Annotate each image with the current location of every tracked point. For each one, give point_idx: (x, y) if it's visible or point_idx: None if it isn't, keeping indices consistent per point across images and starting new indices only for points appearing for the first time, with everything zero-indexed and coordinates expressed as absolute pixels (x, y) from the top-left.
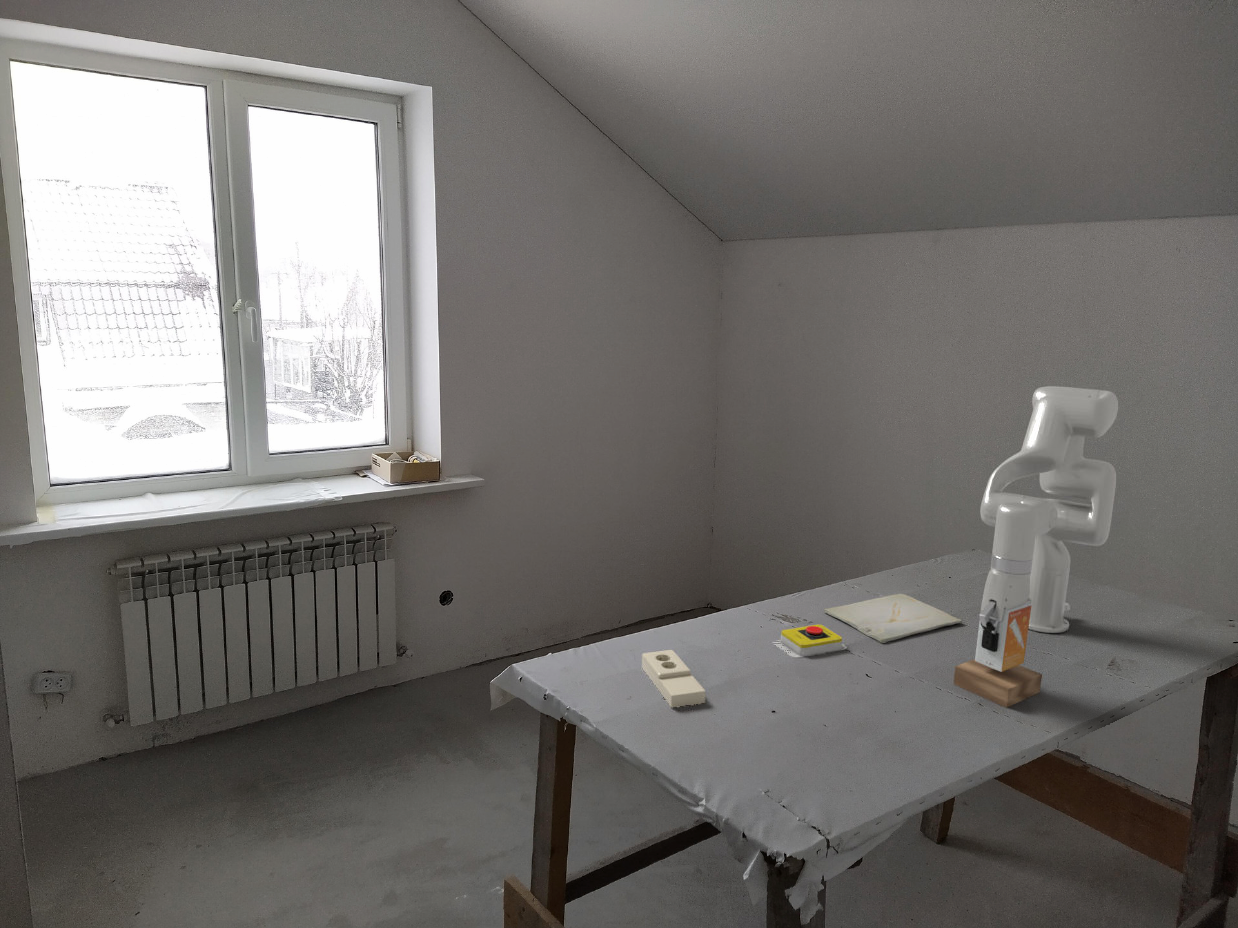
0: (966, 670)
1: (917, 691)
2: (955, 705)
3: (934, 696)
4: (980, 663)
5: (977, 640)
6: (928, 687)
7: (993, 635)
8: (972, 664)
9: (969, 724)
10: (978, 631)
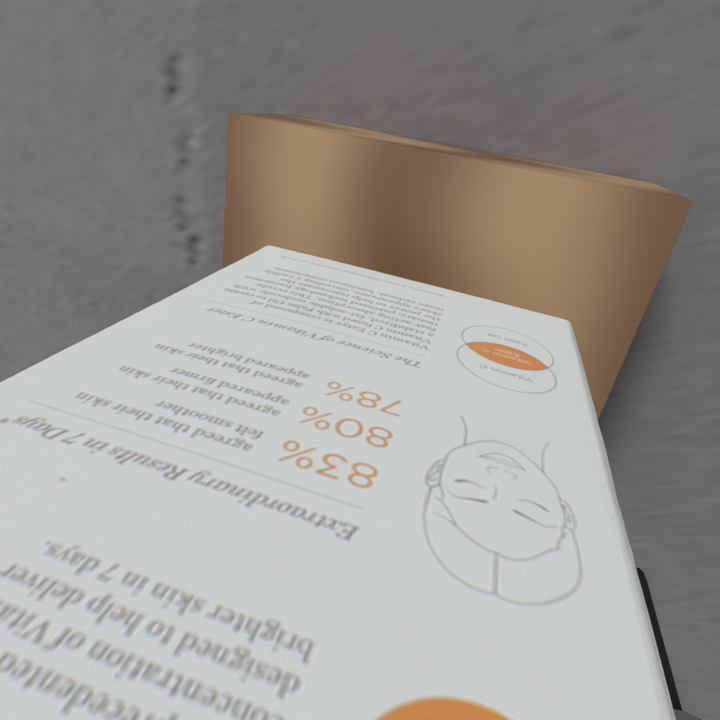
0: (233, 205)
1: (50, 6)
2: (100, 235)
3: (85, 112)
4: (417, 231)
5: (162, 301)
6: (136, 25)
7: None
8: (357, 193)
9: (32, 338)
10: (86, 340)
